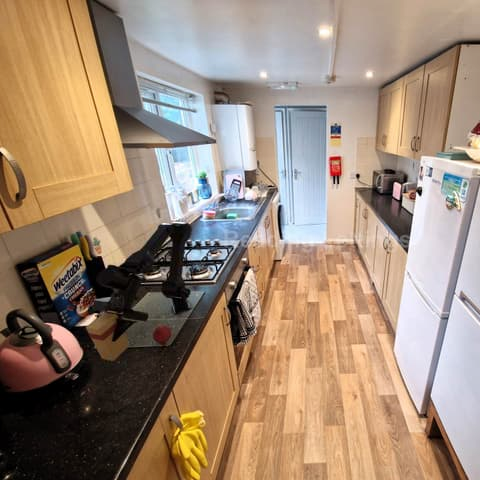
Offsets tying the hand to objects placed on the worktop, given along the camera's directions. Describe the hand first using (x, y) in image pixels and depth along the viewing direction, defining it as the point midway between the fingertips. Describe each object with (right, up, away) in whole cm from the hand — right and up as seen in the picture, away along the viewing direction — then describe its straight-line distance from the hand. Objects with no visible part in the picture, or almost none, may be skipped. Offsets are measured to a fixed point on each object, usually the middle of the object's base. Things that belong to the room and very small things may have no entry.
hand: (107, 340), depth 84 cm
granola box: (0, -5, +4) cm, 7 cm away
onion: (+10, -6, +15) cm, 19 cm away
